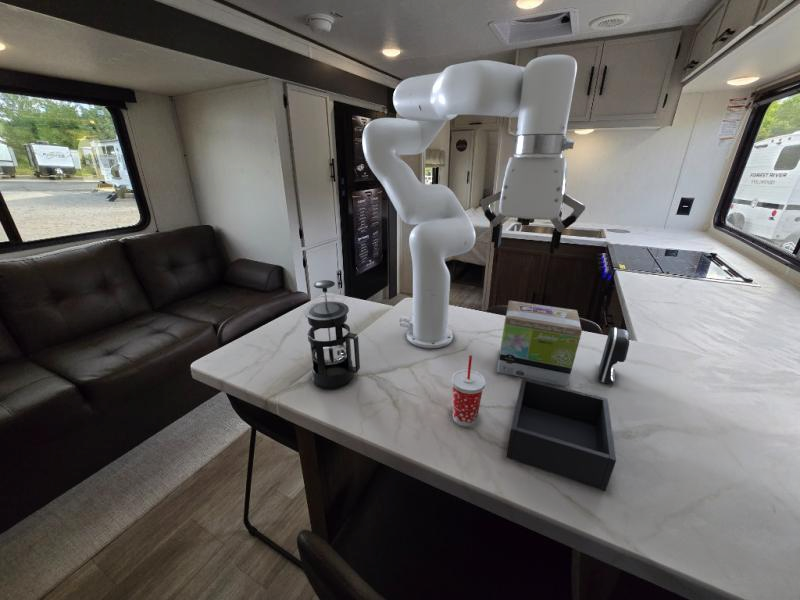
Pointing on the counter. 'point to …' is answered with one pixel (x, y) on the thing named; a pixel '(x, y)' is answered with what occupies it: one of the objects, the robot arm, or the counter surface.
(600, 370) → the battery charger
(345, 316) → the french press
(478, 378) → the beverage cup
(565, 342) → the tea box
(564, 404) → the black open box
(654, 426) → the counter surface
